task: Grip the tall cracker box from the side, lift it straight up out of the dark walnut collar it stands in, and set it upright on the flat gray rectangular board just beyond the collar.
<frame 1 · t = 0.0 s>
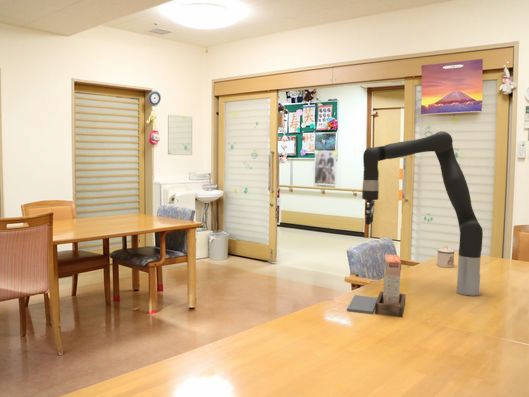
hand: (369, 223, 233), 29 cm above the table, tool pointing down, fingers open, 8 cm apart
walnut collar: (390, 308, 197), on the table
teacup with lid: (446, 266, 275), on the table
cracker box: (390, 308, 197), resting in walnut collar
flat gray rectangular board: (363, 305, 201), on the table
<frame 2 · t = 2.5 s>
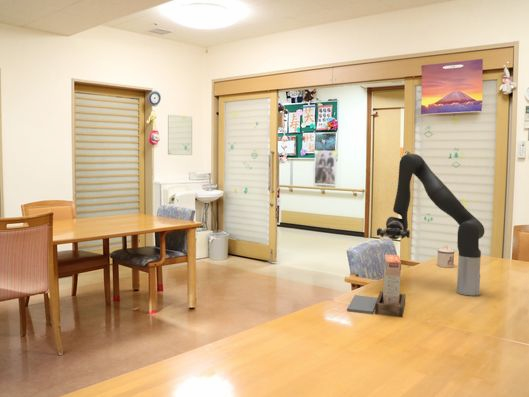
hand: (392, 235, 212), 27 cm above the table, tool horizontal, fingers open, 8 cm apart
nothing on the table moved.
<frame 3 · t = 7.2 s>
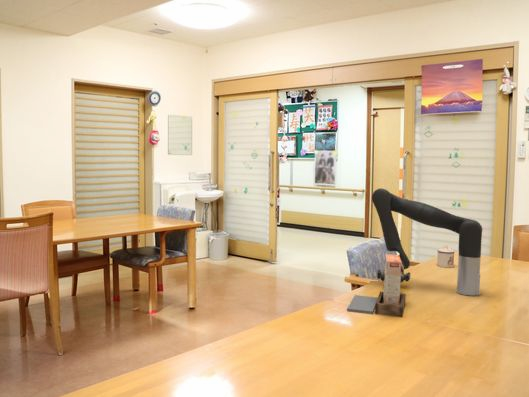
hand: (391, 279, 197), 12 cm above the table, tool horizontal, fingers closed on cracker box, 6 cm apart
cracker box: (390, 308, 197), resting in walnut collar, touching gripper
everything else where it was.
when the fingers open (14 cm above the table, at t = 13.2 s): cracker box stays where it is, resting on flat gray rectangular board.
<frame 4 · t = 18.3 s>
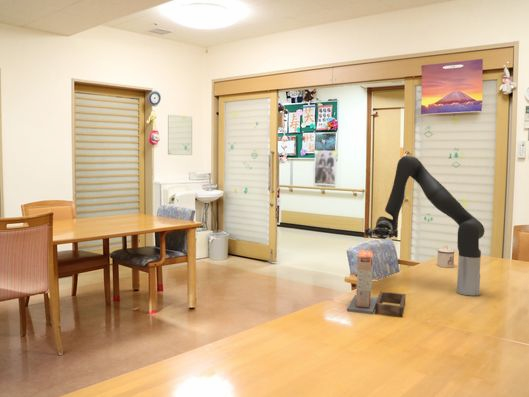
hand: (379, 235, 213), 27 cm above the table, tool horizontal, fingers open, 8 cm apart
cracker box: (363, 303, 201), point 1 cm above the table, touching flat gray rectangular board
everything else where it was.
at the end: cracker box inside the target area on the flat gray rectangular board (0.3 cm from its centre), point 0.8 cm above the flat gray rectangular board's base; cracker box tilted 0°; the gripper is holding nothing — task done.
